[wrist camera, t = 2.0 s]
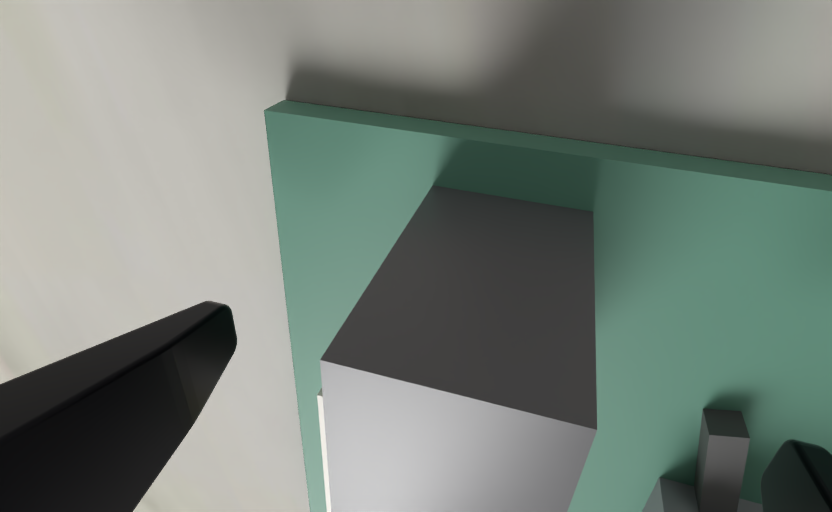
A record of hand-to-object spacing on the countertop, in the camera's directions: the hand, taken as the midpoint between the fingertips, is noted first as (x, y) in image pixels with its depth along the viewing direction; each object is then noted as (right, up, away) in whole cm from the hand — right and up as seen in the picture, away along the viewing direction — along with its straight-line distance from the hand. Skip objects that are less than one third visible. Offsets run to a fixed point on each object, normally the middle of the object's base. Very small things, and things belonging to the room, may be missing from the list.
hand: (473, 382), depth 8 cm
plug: (+1, +1, +2) cm, 3 cm away
